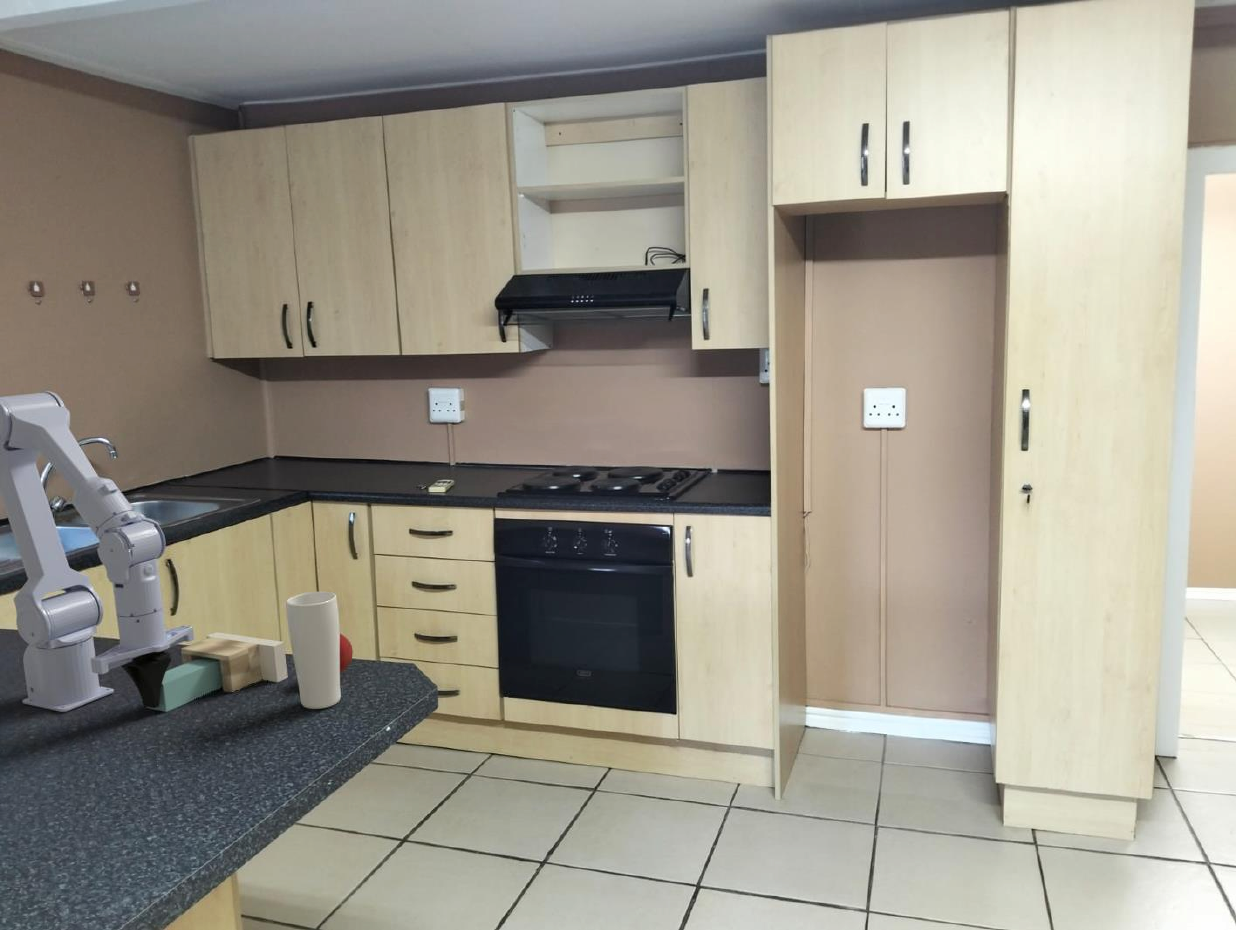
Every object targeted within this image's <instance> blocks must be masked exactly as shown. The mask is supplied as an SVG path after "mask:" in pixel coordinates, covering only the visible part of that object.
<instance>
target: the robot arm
mask: <svg viewBox="0 0 1236 930" xmlns="http://www.w3.org/2000/svg"><path fill="white" fill-rule="evenodd" d="M70 425H71V413H70V411H69V409H68V408H67V407H66V406H65V404H64V401H63V400H62V398H61V396H59V395H58V394H57V393H55V392H53V391H50V390H49V391H48V390H45V391H41V392H37V393H36V392H35V393H28V394H27V393H26V394H17V395H8V396H7V395H6V396H0V497H1V500H2V504H3V506H4V507H3V508H4V509H5V513H6V515H7V518H8V522H9V524H10V529H11V530H12V534H13V537H14V540H15V542H16V543H15V544H16V546H17V550H18V552H19V554H20V559H21V562H22V565H23V568H24V571H25V573H26V577H27V581H26V582H25V583H24V584H23V586H22V587H21V589H20V590H19V591H18V592H17V593H16V594H15V596H14V598H13V602H14V606H15V612H16V619H15V622H16V623H15V625H16V628H17V631H18V633H19V635H20V637H21V638H22V639H23V641H24V642H26V643H27V644H28V645H27V647H26V649H25V651H24V653H23V656H22V657H23V659H22V662H23V670H24V676H25V683H26V691H27V696H28V697H27V698H24V699H22V704H24V705H29V706H34V707H38V708H43V709H48V710H52V711H56V712H61V713H65V712H69V711H71V710H73V709H76V708H78V707H81V706H83V705H86V704H88V703H91V702H93V701H96V700H98V699H101V698H104V697H106V696H108V695H110V694H113V693H114V692H115V690H114V688H110V687H106V686H100V681H99V680H100V679H99V675H105V674H106V673H107V674H108V673H109V671H110V670H112V669H115V668H118V667H122V668H123V671H125V672H126V673H127V674H128V676H129V678H130V679H131V680H132V682H133V683H134V685H135V686H136V688H137V691H138V692H139V694H140V696H141V699H142V704H143V706H144V707H146V708H147V707H150V708H156V707H159V697H160V691H161V686H162V681H163V678H164V675H165V672H166V671H168V667H169V665H170V664H171V661H172V655H171V653H170V652H166V651H165V650H168V649H170V648H171V647H173V646H177V645H179V644H181V643H184V642H187V643H189V642H192V641H193V640H195V635H194V626H189V625H184V624H183V625H181V626H178V627H174V628H169V629H166V621H165V614H164V612H165V610H164V604H163V603H164V602H163V595H162V587H161V578H160V571H159V569H160V568H159V562H158V561H159V559H160V558H162V557H163V555H164V554H165V552H166V551H165V550H166V538H165V534H164V531H163V529H162V528H161V526H160V525H159V523H158V522H157V521H156V520H154V519H153V518H148V517H146V516H145V515H144V514H143V513H137V511H136V510H135V509H134V508H133V506H132V505H131V504H130V502H129V501H128V499H127V498H126V497H125V495H124V493H122V491H121V490H120V488H119V487H118V486H117V485H116V483H115V481H114V480H112V479H111V478H105V477H100V476H99V475H98V474H97V472H96V471H95V469H94V467H93V466H92V464H91V462H90V461H89V459H88V457H87V455H86V454H85V452H84V450H83V449H82V448H81V446H80V444H79V443H78V441H77V440H76V438H75V436H74V434H73V433H72V432H71V430H70ZM41 455H42V456H43V457H44V458H45V459H46V461H47V462H48V463H49V464H50V465H51V466H52V468H54V469H55V471H56V472H57V473H58V474H59V475H60V476H61V478H62V479H63V480H64V481H65V483H67V484H68V486H69V487H71V488H72V490H73V495H72V499H71V503H72V506H73V507H74V508H75V510H76V512H78V513H79V515H80V517H81V518H82V519H83V520H84V522H85V523H86V525H87V526H88V527H89V529H90V530H91V531H92V532H93V534H94V535H95V537H96V538H97V540H98V541H99V542H98V543H99V544H98V547H97V548H96V551H97V555H98V559H99V560H100V562H101V563H102V565H103V566H104V568H105V571H106V577H107V579H108V581H109V582H110V583H112V589H113V597H114V605H115V613H116V621H117V628H118V636H119V644H118V645H115V646H114V647H112V648H109V649H108V650H107V651H105V652H102V653H101V654H99V655H97V656H96V649H95V643H94V635H95V634H98V629H97V627H98V626H100V624H101V622H102V621H103V617H104V610H105V609H104V604H103V601H102V599H101V597H100V596H99V594H98V593H97V591H95V589H94V587H93V585H92V582H91V580H90V577H89V576H88V575H86V574H85V573H81V572H79V571H77V570H75V569H72V568H71V567H70V565H69V561H68V559H67V555H66V553H65V550H64V546H63V544H62V541H61V540H62V539H61V536H60V534H59V531H58V528H57V525H56V523H55V520H54V517H53V512H52V510H51V507H50V504H49V501H48V497H47V495H46V491H45V488H44V485H43V482H42V480H41V477H40V472H39V469H38V467H37V462H38V460H39V457H40V456H41ZM58 591H63V593H59V594H56V595H52V596H48V597H46V598H44V597H45V596H47V595H48V594H52V593H54V592H58ZM150 708H149V709H150Z"/></svg>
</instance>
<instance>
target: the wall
mask: <svg viewBox="0 0 1236 930" xmlns="http://www.w3.org/2000/svg"><path fill="white" fill-rule="evenodd" d="M205 637H206V638H205V639H207V638H210V637H215V638H222V639H228V640H235V641H241V642H248V643H255V644H259V654H260V663H261V673H262V679H263V680H262V681H267V680H268V682H274V683H279V682H281V681H283V680H286V679H287V678H288V677H289V676H288V668H287V659H286V647H285V642H284V641H280V640H273V639H271V640H270V639H266V638H265V639H264V638H258V637H253V636H251V637H250V636H246V635H245V636H244V635H239V634H231V633H224V632H217V631H216V632H214V633H210V634H208V635H206V636H205Z"/></svg>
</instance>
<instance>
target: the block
mask: <svg viewBox="0 0 1236 930" xmlns="http://www.w3.org/2000/svg"><path fill="white" fill-rule="evenodd" d="M180 650H181V651H180V652H181V659H182V665H183V664H186V663H188V662H191V661H193V660H196V659H198V658H201V657H208V658H214V659H220V664H221V673H222V682H223V687H222V689H223V690H225V691H230V692H234V691H235V690H238V691H240V689H241V688H243V687H245V686H247V685H249V684H252V683H254V684H256V683H257V682H261V681H263V680H262V673H261V663H260V654H259V644H255V643H248V642H241V641H235V640H228V639H222V638H215V637H210V638H205V639H203V640H200V641H197V642H195V643H192V644H190V645H188V646H184V647H182V648H180ZM252 685H253V684H252ZM249 686H250V685H249ZM247 687H248V686H247ZM245 688H246V687H245ZM243 689H244V688H243ZM241 690H242V689H241ZM225 691H224V692H225ZM230 692H229V693H230ZM234 693H235V692H234Z"/></svg>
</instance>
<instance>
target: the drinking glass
mask: <svg viewBox="0 0 1236 930" xmlns="http://www.w3.org/2000/svg"><path fill="white" fill-rule="evenodd" d="M337 597H338V596H337V594H336V593H334V592H330V591H329V592H328V591H309V592H305V593H301V594H297V595H294V596H291V597H290V598H288V599H286V602H285V608H286V609H285V611H286V622H287V623H286V626H287V631H288V637H289V641H290V648H291V653H292V659H293V663H294V668H295V673H296V678H297V683H298V690H299V697H300V699H299V700H300V703H301V705H302V706H303V707H304V708H306V709H310V710H320V709H321V710H322V709H326V708H329V707H333V706H335V705H336V704H337V703H339V702H340V700H341V697H342V693H341V674H340V634H341V631H340V629H341V627H340V613H339V605H338V599H337Z"/></svg>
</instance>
